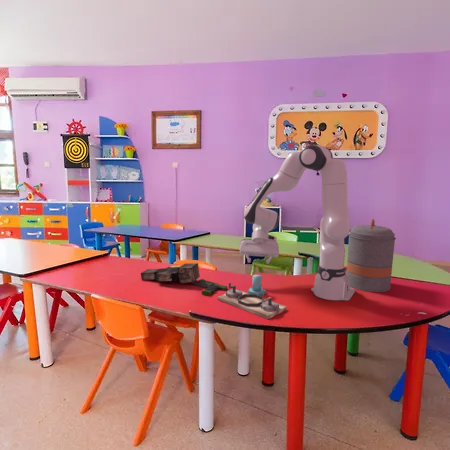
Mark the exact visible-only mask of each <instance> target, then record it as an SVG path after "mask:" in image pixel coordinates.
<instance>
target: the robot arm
mask: <svg viewBox="0 0 450 450" xmlns="http://www.w3.org/2000/svg"><path fill="white" fill-rule="evenodd" d="M307 169H308V170H312V171H315V172H319V173H320V175H321V206H322V218H321V219H320V225H319V233H320V234H319V238H320V239H319V241H320V243H319V248H320V249H319V264H318V267H317V273H316V274H315V277H314V282H313V283H314V284H313V287H311V289H310V291H311V292H312V293H313V294H314V295H315V296H316V297H318V298H320V299H323V300H326V301H350V300H351V298H352V297H353V295H354V294H355V292H356V290H355V288H352V287H350V279H349V278H348V277H347V276H346V270H347V265H345V257H346V247H345V239H346V238H347V237H349V235H348V234H350V230H351V229H350V214H349V213H350V212H349V205H348V173H347V166H346V163H345V162H344V160H342V159H340V158H334V157H333V152H332V151H331V150H330V149H329V148H328V147H326V146H322V145H321V144H320V145H319V144H307V145H306V146H304V147H303V148H302V149H301V150H300V151H291V152H289V153H288V155H287V156H286V158H285V159H284V161H283V162H282V164H281V166H280V167H279V170H278V172H277V173H276V174H274V176H272V177H269V178H267V179H266V181H265V182H264V183H263V184H262V186H261V187H260V189H259V190H258V191H257V193H256V195H255V196H254V197H253V199H252V200H251V202H250V203H249V204H248V205H247V206H246V208H245V210H244V212H243V218H244V220H245V222H246V223H247V224H252V232H251V238H243V239H241V240H240V241H239V254H240V255H241V256H245V258H246V259H247V263H251V260H252V258H251V256H252V257H265V258H266V257H267V259H266V260H265V262H266V264H268V265H269V264H270V262H271V261H272V258H278V257H279V255H280V250H279V243H278V240H277V239H278V238H277V236H274V235H271V234H269V232H272V231H273V230H275V229H276V228H277V227H278V226H279V223H280V215H279V213H278V212H277V211H275V210H271V209H269V208H266V207H263V206H261V205H262V204H263V203H264V201H265V200H266V198H267V197H268V195H270V194H272V193H278V192H289V191H292V190H293V189H295V188H296V187H297V186H298V184H299V182H300V180H301V178H302V176H303V174H304V172H305V171H306V170H307Z"/></svg>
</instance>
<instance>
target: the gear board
mask: <svg viewBox="0 0 450 450" xmlns="http://www.w3.org/2000/svg"><path fill="white" fill-rule="evenodd" d="M272 300H273V298H272V297H271V296H269V297H267V298H265V297H264V296H263V295H261V296H259V295H256V294H250V293H248V292H245V291H242V290H240V289H237V286H236V285H232V282H228V289H227V291H225V293H224V294H221V295H219V296H217V301H221V303H222V302H223V303H225V304H227V305H231V306H233V307H236V308H239V309H240V310H243V311H246V312H248V313H251V314H254V315H256V316H259V317H262V318H264V319H267V320H269V319H272V318H274V317H275V316H277V315H279V314H281V313H283V312H285V311H287V306H286V305H284V304H280V303H278V302H276V301H272Z"/></svg>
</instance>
